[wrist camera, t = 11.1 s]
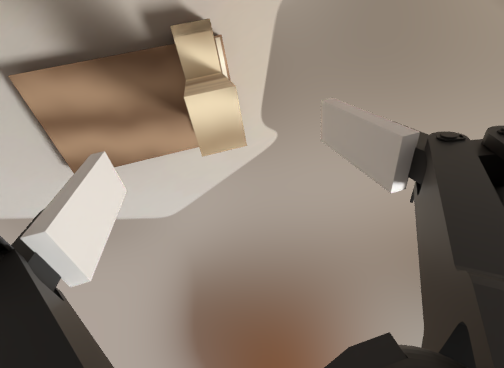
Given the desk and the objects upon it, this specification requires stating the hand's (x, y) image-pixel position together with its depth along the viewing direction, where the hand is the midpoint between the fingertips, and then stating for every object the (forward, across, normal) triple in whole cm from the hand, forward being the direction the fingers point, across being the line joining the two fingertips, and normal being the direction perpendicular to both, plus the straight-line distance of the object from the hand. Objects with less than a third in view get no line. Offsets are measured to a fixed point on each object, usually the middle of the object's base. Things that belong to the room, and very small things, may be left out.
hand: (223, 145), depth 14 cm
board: (+19, -8, 0) cm, 20 cm away
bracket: (+19, 0, +1) cm, 19 cm away
